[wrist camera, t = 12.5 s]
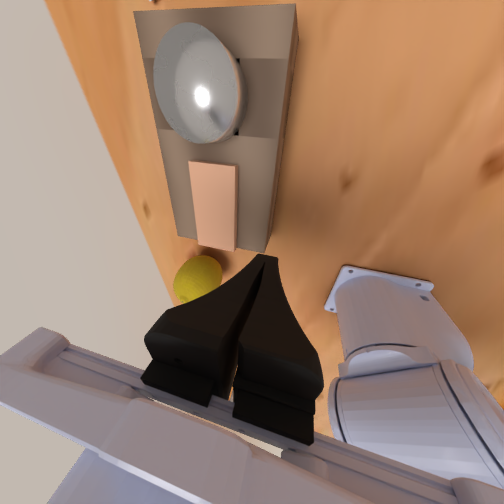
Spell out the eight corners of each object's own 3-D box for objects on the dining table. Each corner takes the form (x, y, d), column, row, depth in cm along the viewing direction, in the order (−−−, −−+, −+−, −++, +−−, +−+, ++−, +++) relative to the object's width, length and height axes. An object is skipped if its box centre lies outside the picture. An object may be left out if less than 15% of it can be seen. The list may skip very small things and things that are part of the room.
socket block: (298, 37, 12) (295, 3, 9) (270, 235, 22) (264, 253, 18) (172, 39, 14) (133, 11, 11) (195, 221, 23) (178, 236, 20)
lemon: (188, 252, 27) (151, 290, 20) (214, 239, 24) (181, 277, 18) (211, 279, 29) (183, 321, 22) (237, 269, 26) (214, 313, 20)
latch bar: (236, 247, 19) (233, 252, 18) (202, 241, 20) (198, 244, 19) (238, 165, 14) (234, 166, 14) (193, 160, 15) (188, 161, 14)
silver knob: (262, 61, 13) (235, 20, 8) (257, 142, 16) (235, 146, 11) (198, 61, 14) (142, 24, 9) (204, 138, 17) (164, 140, 12)
